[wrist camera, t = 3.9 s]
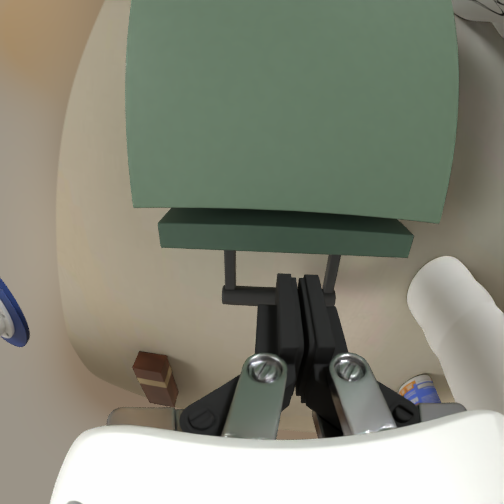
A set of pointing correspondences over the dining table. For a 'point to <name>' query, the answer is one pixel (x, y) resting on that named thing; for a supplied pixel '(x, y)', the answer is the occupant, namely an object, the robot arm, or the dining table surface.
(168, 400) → the brown banded block
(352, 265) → the dining table surface
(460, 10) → the mug
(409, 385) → the pill bottle
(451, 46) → the cabinet
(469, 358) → the water bottle
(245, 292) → the drawer
